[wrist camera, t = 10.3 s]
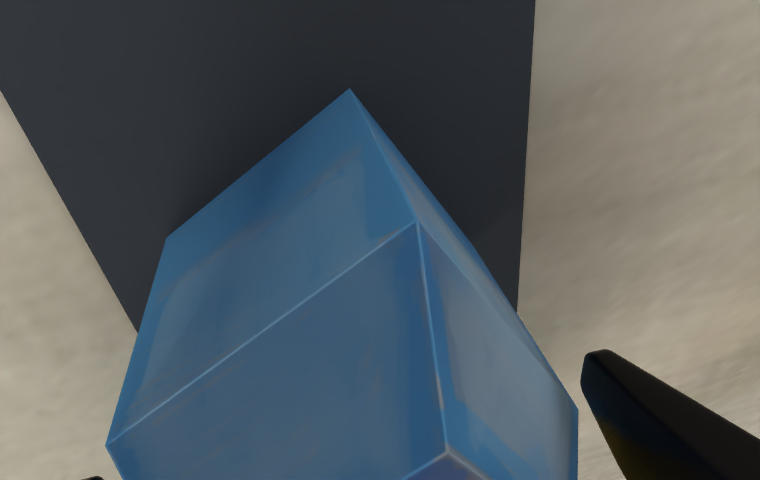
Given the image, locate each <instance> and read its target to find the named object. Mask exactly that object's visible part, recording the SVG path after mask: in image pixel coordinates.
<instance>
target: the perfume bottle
mask: <svg viewBox="0 0 760 480" xmlns="http://www.w3.org/2000/svg"><path fill="white" fill-rule="evenodd" d="M105 446H106V448H107V450H108V452H109V454H110V456H111V458H112V460H113V462H114V463H115V465H116V467H117V469H118V471H119V473H120V475H121V477H122V479H123V480H577V476H578V408H577V407H576V405H575V404H574V402H573V400H572V399H571V397H570V396H569V394H568V393H567V391H566V390H565V388H564V386H563V385H562V383H561V382H560V380H559V379H558V377H557V376H556V374H555V372H554V371H553V369H552V368H551V366H550V365H549V363H548V362H547V360H546V358H545V357H544V355H543V354H542V352H541V351H540V349H539V348H538V346H537V345H536V343H535V341H534V340H533V338H532V337H531V335H530V334H529V332H528V331H527V329H526V327H525V326H524V324H523V323H522V321H521V320H520V318H519V317H518V315H517V313H516V312H515V310H514V309H513V307H512V306H511V304H510V303H509V301H508V299H507V298H506V296H505V295H504V293H503V292H502V290H501V289H500V287H499V285H498V284H497V282H496V281H495V279H494V278H493V276H492V275H491V273H490V271H489V270H488V268H487V267H486V265H485V264H484V262H483V261H482V259H481V257H480V256H479V254H478V253H477V251H476V250H475V248H474V247H473V245H472V244H471V242H470V241H469V240H468V238H467V237H466V236H465V235H464V233H463V232H462V231H461V230H460V228H459V227H458V226H457V224H456V223H455V222H454V221H453V219H452V218H451V217H450V215H449V214H448V213H447V212H446V210H445V209H444V208H443V207H442V205H441V204H440V203H439V201H438V200H437V199H436V198H435V196H434V195H433V194H432V192H431V191H430V190H429V189H428V187H427V186H426V185H425V184H424V182H423V181H422V180H421V178H420V177H419V176H418V175H417V173H416V172H415V171H414V169H413V168H412V167H411V166H410V164H409V163H408V162H407V161H406V159H405V158H404V157H403V155H402V154H401V153H400V152H399V150H398V149H397V148H396V146H395V145H394V144H393V143H392V141H391V140H390V139H389V138H388V136H387V135H386V134H385V132H384V131H383V130H382V129H381V127H380V126H379V125H378V123H377V122H376V121H375V120H374V118H373V117H372V116H371V115H370V113H369V112H368V111H367V109H366V108H365V107H364V106H363V104H362V103H361V102H360V100H359V99H358V98H357V97H356V95H355V94H354V93H353V92H352V90H351V89H350V88H349V89H348V90H346V91H345V92H344V93H343V94H342V95H340V96H339V97H338V98H337V99H335V100H334V101H333V102H332V103H331V104H329V105H328V106H327V107H326V108H324V109H323V110H322V111H321V112H320V113H318V114H317V115H316V116H315V117H313V118H312V119H311V120H310V121H309V122H307V123H306V124H305V125H304V126H302V127H301V128H300V129H299V130H298V131H296V132H295V133H294V134H293V135H291V136H290V137H289V138H288V139H287V140H285V141H284V142H283V143H282V144H280V145H279V146H278V147H277V148H276V149H274V150H273V151H272V152H271V153H269V154H268V155H267V156H266V157H264V158H263V159H262V160H261V161H260V162H258V163H257V164H256V165H255V166H253V167H252V168H251V169H250V170H249V171H247V172H246V173H245V174H244V175H242V176H241V177H240V178H239V179H238V180H236V181H235V182H234V183H233V184H231V185H230V186H229V187H228V188H227V189H225V190H224V191H223V192H222V193H220V194H219V195H218V196H217V197H216V198H214V199H213V200H212V201H211V202H209V203H208V204H207V205H206V206H205V207H203V208H202V209H201V210H200V211H198V212H197V213H196V214H195V215H194V216H192V217H191V218H190V219H189V220H187V221H186V222H185V223H184V224H183V225H181V226H180V227H179V228H178V229H176V230H175V231H174V232H173V233H172V234H170V235H169V236H168V237H167V238H166V241H165V244H164V248H163V251H162V254H161V258H160V261H159V265H158V268H157V271H156V275H155V278H154V282H153V285H152V288H151V292H150V295H149V298H148V302H147V305H146V309H145V312H144V315H143V319H142V322H141V326H140V329H139V332H138V336H137V339H136V343H135V346H134V349H133V353H132V356H131V359H130V363H129V366H128V370H127V373H126V376H125V380H124V383H123V387H122V390H121V393H120V397H119V400H118V404H117V407H116V410H115V414H114V417H113V421H112V424H111V427H110V431H109V434H108V437H107V441H106V444H105Z"/></svg>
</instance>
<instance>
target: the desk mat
mask: <svg viewBox="0 0 760 480" xmlns="http://www.w3.org/2000/svg"><path fill="white" fill-rule="evenodd" d="M534 15H535V0H0V90H1V92H2V93H3V95H4V97H5V99H6V101H7V102H8V104H9V106H10V108H11V109H12V111H13V113H14V115H15V116H16V118H17V120H18V122H19V124H20V125H21V127H22V129H23V131H24V132H25V134H26V136H27V138H28V140H29V141H30V143H31V145H32V147H33V148H34V150H35V152H36V154H37V155H38V157H39V159H40V161H41V163H42V164H43V166H44V168H45V170H46V171H47V173H48V175H49V177H50V179H51V180H52V182H53V184H54V186H55V187H56V189H57V191H58V193H59V194H60V196H61V198H62V200H63V202H64V203H65V205H66V207H67V209H68V210H69V212H70V214H71V216H72V218H73V219H74V221H75V223H76V225H77V226H78V228H79V230H80V232H81V233H82V235H83V237H84V239H85V241H86V242H87V244H88V246H89V248H90V249H91V251H92V253H93V255H94V257H95V258H96V260H97V262H98V264H99V265H100V267H101V269H102V271H103V272H104V274H105V276H106V278H107V280H108V281H109V283H110V285H111V287H112V288H113V290H114V292H115V294H116V296H117V297H118V299H119V301H120V303H121V304H122V306H123V308H124V310H125V311H126V313H127V315H128V317H129V319H130V320H131V322H132V324H133V326H134V327H135V329H136V331H137V333H138V332H139V329H140V326H141V322H142V319H143V315H144V312H145V309H146V305H147V302H148V298H149V295H150V292H151V288H152V285H153V282H154V278H155V275H156V271H157V268H158V265H159V261H160V258H161V254H162V251H163V248H164V244H165V241H166V238H167V237H168V236H169V235H170V234H172V233H173V232H174V231H175V230H176V229H178V228H179V227H180V226H181V225H183V224H184V223H185V222H186V221H187V220H189V219H190V218H191V217H192V216H194V215H195V214H196V213H197V212H198V211H200V210H201V209H202V208H203V207H205V206H206V205H207V204H208V203H209V202H211V201H212V200H213V199H214V198H216V197H217V196H218V195H219V194H220V193H222V192H223V191H224V190H225V189H227V188H228V187H229V186H230V185H231V184H233V183H234V182H235V181H236V180H238V179H239V178H240V177H241V176H242V175H244V174H245V173H246V172H247V171H249V170H250V169H251V168H252V167H253V166H255V165H256V164H257V163H258V162H260V161H261V160H262V159H263V158H264V157H266V156H267V155H268V154H269V153H271V152H272V151H273V150H274V149H276V148H277V147H278V146H279V145H280V144H282V143H283V142H284V141H285V140H287V139H288V138H289V137H290V136H291V135H293V134H294V133H295V132H296V131H298V130H299V129H300V128H301V127H302V126H304V125H305V124H306V123H307V122H309V121H310V120H311V119H312V118H313V117H315V116H316V115H317V114H318V113H320V112H321V111H322V110H323V109H324V108H326V107H327V106H328V105H329V104H331V103H332V102H333V101H334V100H335V99H337V98H338V97H339V96H340V95H342V94H343V93H344V92H345V91H346V90H348V89H349V88H350V89H351V90H352V92H353V93H354V94H355V95H356V97H357V98H358V99H359V100H360V102H361V103H362V104H363V106H364V107H365V108H366V109H367V111H368V112H369V113H370V115H371V116H372V117H373V118H374V120H375V121H376V122H377V123H378V125H379V126H380V127H381V129H382V130H383V131H384V132H385V134H386V135H387V136H388V138H389V139H390V140H391V141H392V143H393V144H394V145H395V146H396V148H397V149H398V150H399V152H400V153H401V154H402V155H403V157H404V158H405V159H406V161H407V162H408V163H409V164H410V166H411V167H412V168H413V169H414V171H415V172H416V173H417V175H418V176H419V177H420V178H421V180H422V181H423V182H424V184H425V185H426V186H427V187H428V189H429V190H430V191H431V192H432V194H433V195H434V196H435V198H436V199H437V200H438V201H439V203H440V204H441V205H442V207H443V208H444V209H445V210H446V212H447V213H448V214H449V215H450V217H451V218H452V219H453V221H454V222H455V223H456V224H457V226H458V227H459V228H460V230H461V231H462V232H463V233H464V235H465V236H466V237H467V238H468V240H469V241H470V242H471V244H472V245H473V247H474V248H475V250H476V251H477V253H478V254H479V256H480V257H481V259H482V261H483V262H484V264H485V265H486V267H487V268H488V270H489V271H490V273H491V275H492V276H493V278H494V279H495V281H496V282H497V284H498V285H499V287H500V289H501V290H502V292H503V293H504V295H505V296H506V298H507V299H508V301H509V303H510V304H511V306H512V307H513V309H514V310H515V312H516V313H517V301H518V284H519V268H520V251H521V234H522V217H523V200H524V184H525V167H526V150H527V133H528V116H529V99H530V83H531V66H532V49H533V32H534Z"/></svg>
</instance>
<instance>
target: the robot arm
mask: <svg viewBox="0 0 760 480" xmlns="http://www.w3.org/2000/svg"><path fill="white" fill-rule="evenodd" d="M580 383H581V389H582V392H583V394H584V396H585V398H586V400H587V402H588V404H589V406H590V408H591V410H592V413H593V415H594V417H595V419H596V421H597V423H598V425H599V427H600V429H601V431H602V433H603V435H604V437H605V439H606V441H607V443H608V446H609V448H610V450H611V452H612V454H613V456H614V458H615V460H616V462H617V464H618V466H619V467H620V469H621V471H622V473H623V474H624V476H625V478H626V479H627V480H760V439H758V438H757V437H755V436H753V435H752V434H750V433H748V432H747V431H745V430H743V429H741V428H740V427H738V426H736V425H735V424H733V423H731V422H730V421H728V420H726V419H725V418H723V417H721V416H720V415H718V414H716V413H715V412H713V411H711V410H710V409H708V408H706V407H705V406H703V405H701V404H700V403H698V402H696V401H695V400H693V399H691V398H689V397H688V396H686V395H684V394H683V393H681V392H679V391H678V390H676V389H674V388H673V387H671V386H669V385H668V384H666V383H664V382H663V381H661V380H659V379H658V378H656V377H654V376H653V375H651V374H649V373H648V372H646V371H644V370H643V369H641V368H639V367H637V366H636V365H634V364H632V363H631V362H629V361H627V360H626V359H624V358H622V357H621V356H619V355H617V354H616V353H614V352H612V351H610V350H607V349H602V350H598V351H594V352H590V353H587V354H586V356H585V358H584V363H583V368H582V374H581V380H580ZM82 480H104V479H103V478H102V477H99V476H94V477H90V478H86V479H82Z"/></svg>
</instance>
